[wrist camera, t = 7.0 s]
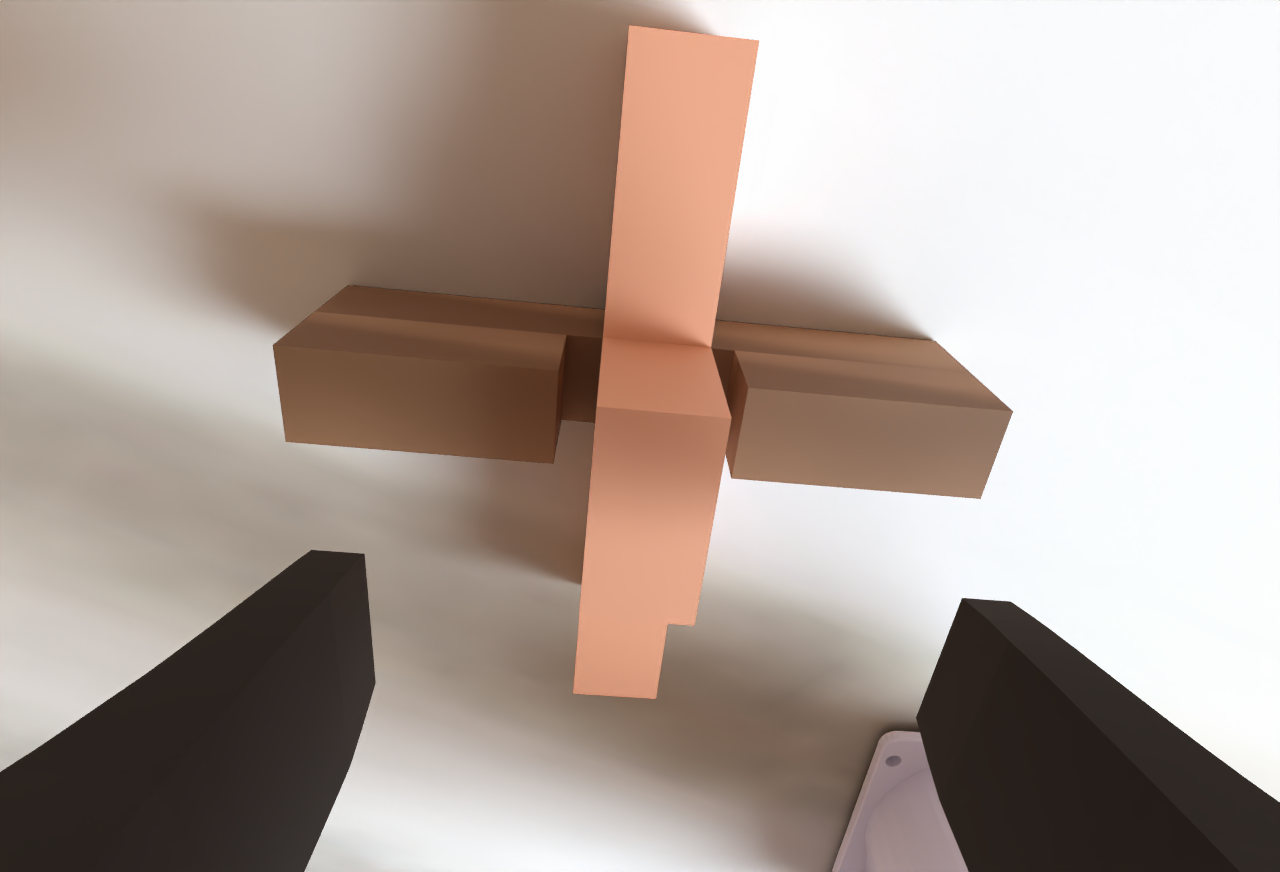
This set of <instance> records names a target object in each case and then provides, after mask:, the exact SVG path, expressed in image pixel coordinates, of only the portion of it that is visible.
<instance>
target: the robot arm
mask: <svg viewBox="0 0 1280 872" xmlns="http://www.w3.org/2000/svg"><path fill="white" fill-rule="evenodd" d="M374 686H375V671H374V659H373V648H372V636H371V624H370V613H369V601H368V589H367V578H366V566H365V555H364V554H359V553H345V552H331V551H318V550H311V551H309V552H308V553H307V554H305V555H304V556H302V557H301V558H300V559H298V560H297V561H296V562H294V563H293V564H292V565H290V566H289V567H288V568H286V569H285V570H284V571H282V572H281V573H280V574H278V575H277V576H276V577H275V578H273V579H272V580H271V581H269V582H268V583H267V584H265V585H264V586H263V587H262V588H260V589H259V590H258V591H256V592H255V593H254V594H252V595H251V596H250V597H248V598H247V599H246V600H245V601H243V602H242V603H241V604H239V605H238V606H237V607H235V608H234V609H233V610H231V611H230V612H229V613H227V614H226V615H225V616H223V617H222V618H221V619H220V620H218V621H217V622H216V623H214V624H213V625H212V626H210V627H209V628H208V629H206V630H205V631H204V632H202V633H201V634H199V635H198V636H197V637H195V638H194V639H193V640H191V641H190V642H189V643H187V644H186V645H185V646H183V647H182V648H181V649H179V650H178V651H177V652H175V653H174V654H172V655H171V656H170V657H168V658H167V659H166V660H164V661H163V662H162V663H160V664H159V665H158V666H156V667H155V668H154V669H152V670H151V671H149V672H148V673H147V674H145V675H144V676H142V677H141V678H139V679H138V680H136V681H135V682H133V683H132V684H131V685H129V686H128V687H126V688H125V689H123V690H122V691H120V692H119V693H117V694H116V695H114V696H113V697H112V698H110V699H109V700H107V701H106V702H104V703H103V704H101V705H100V706H98V707H97V708H95V709H94V710H93V711H91V712H90V713H88V714H87V715H85V716H84V717H82V718H81V719H79V720H78V721H76V722H75V723H74V724H72V725H71V726H69V727H68V728H66V729H65V730H63V731H62V732H60V733H59V734H57V735H56V736H55V737H53V738H52V739H50V740H49V741H47V742H46V743H44V744H43V745H41V746H40V747H38V748H37V749H35V750H34V751H32V752H31V753H29V754H28V755H26V756H24V757H23V758H21V759H20V760H18V761H17V762H15V763H14V764H12V765H10V766H9V767H7V768H6V769H4V770H3V771H1V772H0V872H304V871H305V869H306V867H307V864H308V862H309V860H310V857H311V855H312V853H313V851H314V848H315V846H316V844H317V842H318V839H319V837H320V835H321V832H322V830H323V828H324V826H325V823H326V821H327V819H328V816H329V814H330V812H331V809H332V807H333V805H334V802H335V800H336V798H337V796H338V793H339V791H340V789H341V786H342V784H343V782H344V779H345V777H346V774H347V772H348V770H349V767H350V765H351V762H352V758H353V755H354V752H355V749H356V746H357V743H358V740H359V736H360V733H361V730H362V727H363V724H364V720H365V717H366V713H367V710H368V707H369V703H370V700H371V696H372V693H373V690H374ZM916 719H917V723H918V726H919V730H920V732H909V731H891V732H888V733H886V734H884V735H883V736H882V737H881V738H880V740H879V742H878V745H877V748H876V750H875V753H874V756H873V759H872V761H871V764H870V767H869V770H868V772H867V775H866V778H865V781H864V783H863V786H862V789H861V792H860V794H859V797H858V800H857V803H856V805H855V808H854V811H853V814H852V817H851V819H850V822H849V825H848V828H847V830H846V833H845V836H844V839H843V841H842V844H841V847H840V850H839V852H838V855H837V858H836V861H835V863H834V866H833V869H832V872H1280V802H1278V801H1277V800H1275V799H1274V798H1273V797H1271V796H1270V795H1268V794H1267V793H1265V792H1264V791H1263V790H1261V789H1260V788H1258V787H1257V786H1256V785H1254V784H1253V783H1251V782H1250V781H1249V780H1247V779H1246V778H1244V777H1243V776H1242V775H1240V774H1239V773H1238V772H1236V771H1235V770H1234V769H1232V768H1231V767H1230V766H1228V765H1227V764H1226V763H1224V762H1223V761H1221V760H1220V759H1219V758H1217V757H1216V756H1215V755H1213V754H1212V753H1211V752H1209V751H1208V750H1207V749H1205V748H1204V747H1203V746H1201V745H1200V744H1199V743H1197V742H1196V741H1195V740H1193V739H1192V738H1191V737H1189V736H1188V735H1187V734H1185V733H1184V732H1183V731H1181V730H1180V729H1179V728H1177V727H1176V726H1175V725H1174V724H1172V723H1171V722H1170V721H1168V720H1167V719H1166V718H1164V717H1163V716H1162V715H1160V714H1159V713H1158V712H1157V711H1155V710H1154V709H1153V708H1151V707H1150V706H1149V705H1147V704H1146V703H1145V702H1144V701H1142V700H1141V699H1140V698H1138V697H1137V696H1136V695H1134V694H1133V693H1132V692H1131V691H1129V690H1128V689H1127V688H1125V687H1124V686H1123V685H1122V684H1120V683H1119V682H1118V681H1116V680H1115V679H1114V678H1113V677H1111V676H1110V675H1109V674H1107V673H1106V672H1105V671H1104V670H1102V669H1101V668H1100V667H1098V666H1097V665H1096V664H1095V663H1093V662H1092V661H1091V660H1089V659H1088V658H1087V657H1085V656H1084V655H1083V654H1082V653H1080V652H1079V651H1078V650H1076V649H1075V648H1074V647H1072V646H1071V645H1070V644H1069V643H1067V642H1066V641H1065V640H1063V639H1062V638H1061V637H1059V636H1058V635H1057V634H1055V633H1054V632H1053V631H1051V630H1050V629H1049V628H1047V627H1046V626H1045V625H1043V624H1042V623H1041V622H1039V621H1038V620H1036V619H1035V618H1034V617H1032V616H1031V615H1029V614H1028V613H1027V612H1025V611H1024V610H1022V609H1021V608H1019V607H1018V606H1016V605H1015V604H1013V603H1012V602H1008V601H994V600H981V599H967V598H962V600H961V603H960V605H959V608H958V610H957V613H956V616H955V618H954V621H953V623H952V626H951V629H950V631H949V634H948V636H947V639H946V641H945V644H944V647H943V649H942V652H941V654H940V657H939V660H938V662H937V665H936V667H935V670H934V673H933V675H932V678H931V680H930V683H929V685H928V688H927V691H926V693H925V696H924V698H923V701H922V704H921V706H920V709H919V711H918V714H917V716H916Z"/></svg>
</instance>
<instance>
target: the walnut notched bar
mask: <svg viewBox="0 0 1280 872" xmlns="http://www.w3.org/2000/svg"><path fill="white" fill-rule="evenodd" d="M604 319H605V310H604V309H593V308H583V307H572V306H562V305H551V304H541V303H530V302H520V301H509V300H499V299H488V298H477V297H467V296H456V295H446V294H435V293H425V292H414V291H404V290H393V289H383V288H372V287H362V286H351V285H348V286H346V287H345V288H344V289H343V290H341V291H340V292H339V293H338V294H336V295H335V296H334V297H333V298H331V299H330V300H329V301H328V302H326V303H325V304H324V305H323V306H321V307H320V308H319V309H318V310H316V311H315V312H314V313H313V314H311V315H310V316H309V317H307V318H306V319H305V320H304V321H302V322H301V323H300V324H299V325H297V326H296V327H295V328H294V329H292V330H291V331H290V332H289V333H287V334H286V335H285V336H284V337H282V338H281V339H280V340H279V341H277V342H276V343H275V344H274V345H273V350H274V358H275V365H276V372H277V380H278V387H279V395H280V402H281V409H282V417H283V424H284V432H285V439H286V442H295V443H307V444H319V445H331V446H343V447H355V448H368V449H380V450H392V451H404V452H416V453H429V454H441V455H453V456H465V457H477V458H490V459H502V460H514V461H526V462H538V463H550V464H553V462H554V457H555V451H556V446H557V441H558V435H559V430H560V425H561V420H570V421H582V422H594V423H595V419H596V408H597V397H598V386H599V375H600V364H601V353H602V342H603V330H604ZM711 349H712V352H713V356H714V359H715V363H716V366H717V370H718V373H719V377H720V380H721V383H722V387H723V390H724V394H725V397H726V401H727V404H728V408H729V411H730V414H731V418H732V419H731V425H730V430H729V436H728V441H727V447H726V452H725V454H726V458H727V462H728V466H729V470H730V474H731V478H733V479H745V480H758V481H770V482H782V483H794V484H806V485H819V486H831V487H843V488H855V489H867V490H879V491H892V492H904V493H916V494H928V495H940V496H953V497H965V498H977V499H981V496H982V493H983V491H984V488H985V485H986V482H987V480H988V477H989V474H990V472H991V469H992V466H993V464H994V461H995V458H996V456H997V453H998V450H999V448H1000V445H1001V442H1002V439H1003V437H1004V434H1005V431H1006V429H1007V426H1008V423H1009V421H1010V418H1011V415H1012V413H1013V411H1012V410H1011V409H1010V408H1009V407H1007V406H1006V405H1005V404H1004V403H1003V402H1002V401H1001V400H1000V399H999V398H998V397H996V396H995V395H994V394H993V393H992V392H991V391H990V390H989V389H988V388H987V387H985V386H984V385H983V384H982V383H981V382H980V381H979V380H978V379H977V378H976V377H974V376H973V375H972V374H971V373H970V372H969V371H968V370H967V369H966V368H965V367H963V366H962V365H961V364H960V363H959V362H958V361H957V360H956V359H955V358H954V357H952V356H951V355H950V354H949V353H948V352H947V351H946V350H945V349H944V348H943V347H941V346H940V345H939V344H938V343H937V342H936V341H930V340H919V339H909V338H898V337H888V336H877V335H867V334H856V333H846V332H835V331H825V330H814V329H804V328H793V327H783V326H772V325H762V324H751V323H740V322H730V321H719V320H715V325H714V332H713V338H712V344H711Z"/></svg>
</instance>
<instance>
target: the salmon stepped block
mask: <svg viewBox="0 0 1280 872" xmlns="http://www.w3.org/2000/svg"><path fill="white" fill-rule="evenodd" d="M758 44H759V41H757V40H749V39H741V38H732V37H724V36H715V35H707V34H699V33H690V32H682V31H674V30H665V29H657V28H648V27H640V26H632V25H629V34H628V46H627V57H626V69H625V81H624V93H623V105H622V117H621V129H620V140H619V152H618V164H617V176H616V188H615V200H614V212H613V224H612V235H611V247H610V259H609V271H608V283H607V295H606V307H605V319H604V330H603V342H602V353H601V364H600V375H599V386H598V397H597V408H596V419H595V431H594V443H593V455H592V467H591V479H590V491H589V503H588V515H587V527H586V539H585V551H584V563H583V574H582V586H581V598H580V610H579V627H578V639H577V651H576V663H575V675H574V687H573V694H587V695H603V696H619V697H634V698H650V699H656V696H657V689H658V683H659V676H660V670H661V664H662V657H663V651H664V645H665V638H666V632H667V625H668V624H678V625H692V626H695V620H696V615H697V609H698V604H699V598H700V592H701V587H702V581H703V576H704V570H705V564H706V559H707V553H708V548H709V542H710V536H711V531H712V525H713V520H714V514H715V508H716V503H717V497H718V492H719V486H720V480H721V475H722V469H723V464H724V458H725V452H726V447H727V441H728V436H729V430H730V425H731V419H732V418H731V414H730V411H729V408H728V404H727V401H726V397H725V394H724V390H723V387H722V383H721V380H720V377H719V373H718V370H717V366H716V363H715V359H714V356H713V352H712V349H711V344H712V338H713V332H714V325H715V319H716V313H717V306H718V300H719V293H720V287H721V281H722V274H723V268H724V261H725V255H726V249H727V242H728V236H729V230H730V223H731V217H732V210H733V204H734V198H735V191H736V185H737V178H738V172H739V166H740V159H741V153H742V147H743V140H744V134H745V127H746V121H747V115H748V108H749V102H750V95H751V89H752V83H753V76H754V70H755V64H756V57H757V51H758Z"/></svg>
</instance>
